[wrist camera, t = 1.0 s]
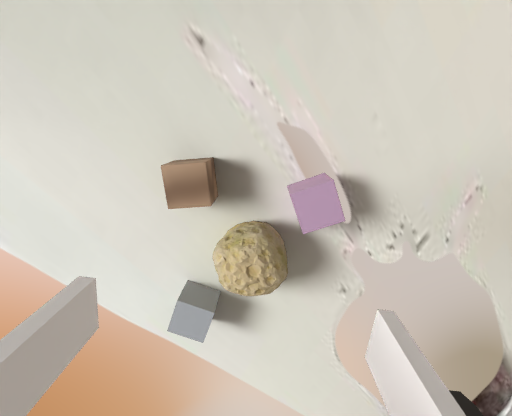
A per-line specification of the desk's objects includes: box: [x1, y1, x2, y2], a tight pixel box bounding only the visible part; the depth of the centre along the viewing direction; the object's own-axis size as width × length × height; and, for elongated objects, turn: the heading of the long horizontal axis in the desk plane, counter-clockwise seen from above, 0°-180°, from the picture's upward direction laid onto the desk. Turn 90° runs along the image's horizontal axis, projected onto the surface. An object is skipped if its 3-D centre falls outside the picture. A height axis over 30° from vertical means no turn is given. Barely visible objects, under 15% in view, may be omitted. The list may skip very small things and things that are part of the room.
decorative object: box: [213, 221, 288, 296], centre depth 36 cm, size 9×10×10 cm
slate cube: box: [167, 280, 221, 343], centre depth 39 cm, size 5×5×5 cm
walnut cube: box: [161, 157, 218, 209], centre depth 34 cm, size 5×5×5 cm
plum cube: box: [287, 173, 345, 234], centre depth 34 cm, size 5×5×5 cm
